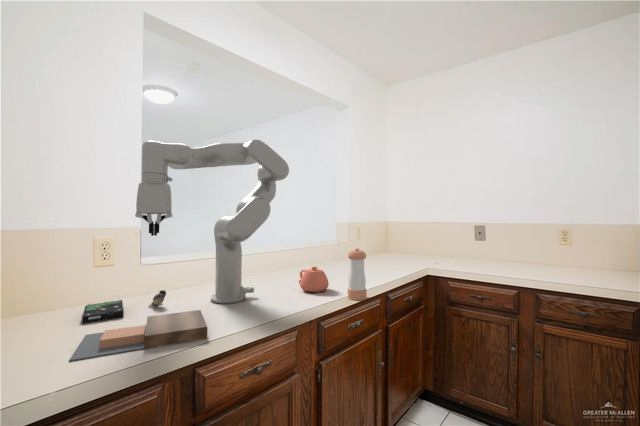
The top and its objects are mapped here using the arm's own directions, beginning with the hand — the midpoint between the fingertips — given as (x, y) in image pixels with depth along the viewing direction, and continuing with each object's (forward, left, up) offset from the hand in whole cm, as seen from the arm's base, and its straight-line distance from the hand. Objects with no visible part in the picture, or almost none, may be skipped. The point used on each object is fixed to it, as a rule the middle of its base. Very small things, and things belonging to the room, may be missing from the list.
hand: (154, 235), depth 100 cm
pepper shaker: (-70, +15, -25) cm, 76 cm away
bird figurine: (-2, -6, -25) cm, 26 cm away
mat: (+8, +23, -25) cm, 35 cm away
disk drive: (+14, -5, -26) cm, 30 cm away
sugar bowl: (-60, -4, -25) cm, 65 cm away
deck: (-6, +23, -25) cm, 35 cm away
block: (+6, +24, -25) cm, 35 cm away
